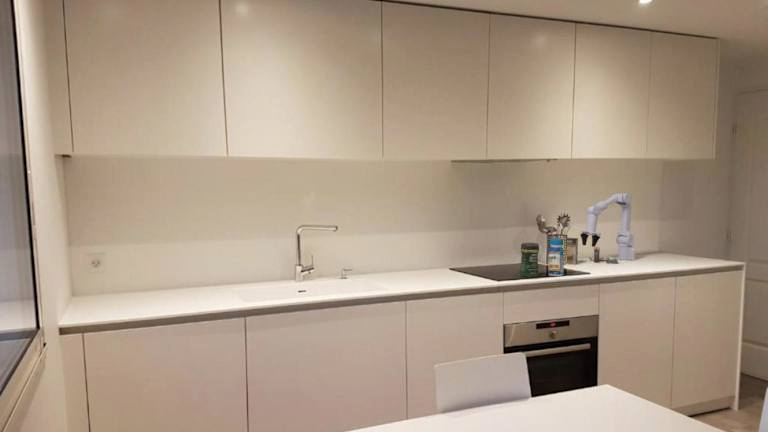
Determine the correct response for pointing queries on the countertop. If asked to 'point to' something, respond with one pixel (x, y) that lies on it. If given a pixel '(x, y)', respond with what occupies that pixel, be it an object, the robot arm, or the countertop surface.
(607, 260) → the button housing
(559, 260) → the blue labeled canister
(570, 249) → the coffee box
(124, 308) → the countertop surface
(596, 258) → the marker
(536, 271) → the coffee jar
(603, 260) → the board
